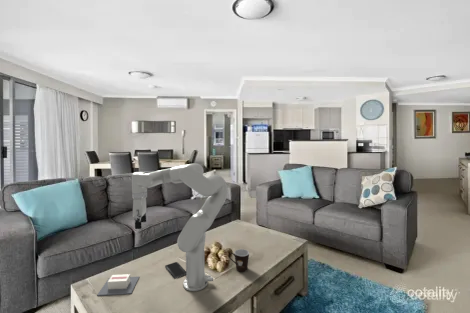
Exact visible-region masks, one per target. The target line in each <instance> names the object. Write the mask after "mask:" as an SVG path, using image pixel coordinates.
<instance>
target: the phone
mask: <svg viewBox="0 0 470 313" xmlns="http://www.w3.org/2000/svg"><path fill="white" fill-rule="evenodd" d="M164 268H165V269H166V270H167V272H168V273H169V274H170V276H171V277H172V278H173V279H179V278H182V277H184V276H186V269H185V268H184V267H183V266H181V264H180V263H179V262H178V261H175V262H172V263H168V264H166V265H164Z"/></svg>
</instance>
